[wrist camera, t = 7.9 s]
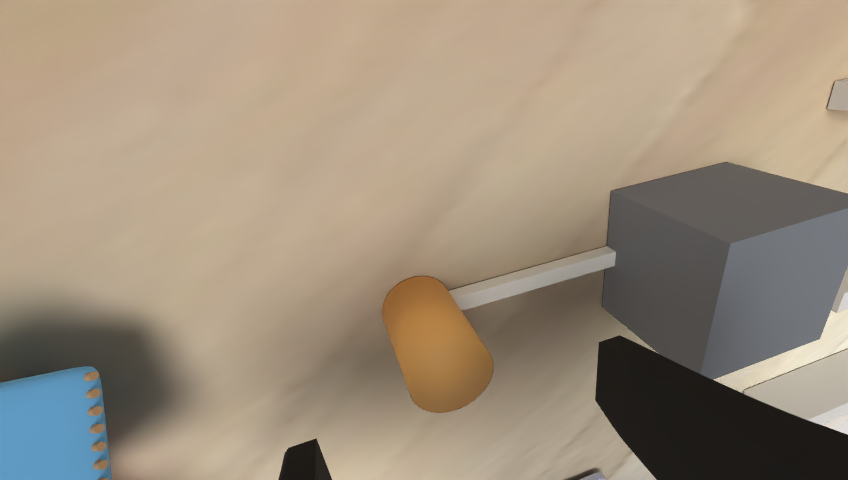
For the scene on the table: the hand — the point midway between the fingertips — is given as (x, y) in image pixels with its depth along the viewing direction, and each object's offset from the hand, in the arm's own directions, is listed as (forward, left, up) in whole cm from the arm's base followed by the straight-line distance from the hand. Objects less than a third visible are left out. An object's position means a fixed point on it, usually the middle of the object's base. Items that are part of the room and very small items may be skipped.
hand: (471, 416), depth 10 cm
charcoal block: (0, -6, -5) cm, 7 cm away
